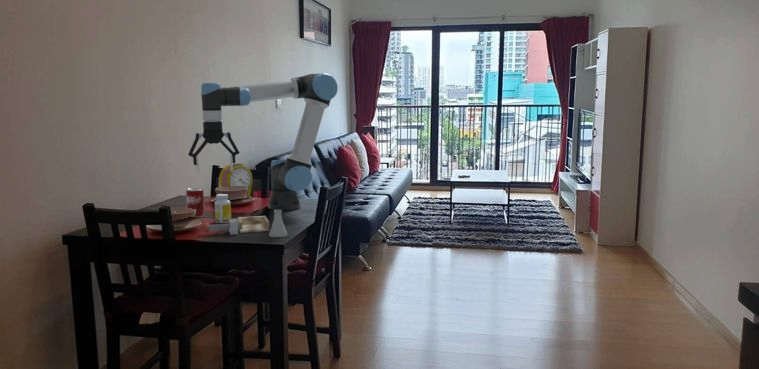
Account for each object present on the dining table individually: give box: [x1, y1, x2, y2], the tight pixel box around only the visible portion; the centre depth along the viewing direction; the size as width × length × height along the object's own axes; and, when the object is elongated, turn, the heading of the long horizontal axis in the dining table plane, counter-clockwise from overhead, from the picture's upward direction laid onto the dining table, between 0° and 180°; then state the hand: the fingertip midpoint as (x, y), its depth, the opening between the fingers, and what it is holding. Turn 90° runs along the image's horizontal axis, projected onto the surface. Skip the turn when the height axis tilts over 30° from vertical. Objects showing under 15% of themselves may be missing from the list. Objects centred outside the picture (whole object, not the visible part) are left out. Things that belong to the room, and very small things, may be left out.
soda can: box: [185, 187, 205, 219], centre depth 245 cm, size 7×7×12 cm
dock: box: [236, 215, 271, 234], centre depth 225 cm, size 11×12×3 cm
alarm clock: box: [218, 162, 253, 197], centre depth 286 cm, size 15×8×18 cm, turn 137°
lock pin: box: [203, 222, 240, 234], centre depth 216 cm, size 13×4×4 cm, turn 108°
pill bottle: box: [214, 193, 232, 224], centre depth 235 cm, size 6×6×12 cm
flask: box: [268, 210, 289, 239], centre depth 213 cm, size 7×7×10 cm
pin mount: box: [228, 218, 239, 236], centre depth 218 cm, size 3×6×5 cm, turn 18°
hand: (215, 172), depth 233 cm, fingers open, 13 cm apart
